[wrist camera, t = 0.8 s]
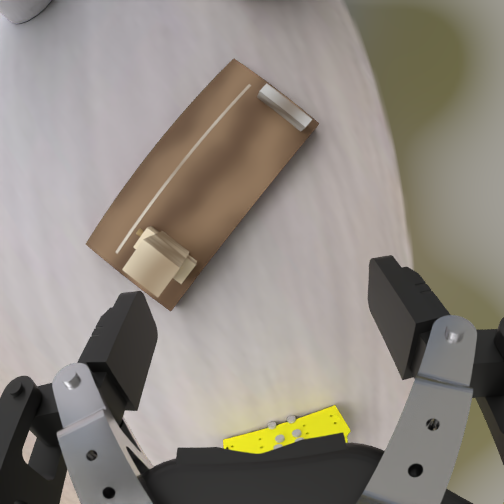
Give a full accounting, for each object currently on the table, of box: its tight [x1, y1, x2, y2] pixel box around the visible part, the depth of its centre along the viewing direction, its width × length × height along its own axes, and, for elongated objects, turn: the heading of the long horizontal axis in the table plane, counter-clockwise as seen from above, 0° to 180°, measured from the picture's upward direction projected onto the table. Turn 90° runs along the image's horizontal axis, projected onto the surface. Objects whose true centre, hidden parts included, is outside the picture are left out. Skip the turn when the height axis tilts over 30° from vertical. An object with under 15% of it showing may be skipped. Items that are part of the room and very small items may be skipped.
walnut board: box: [86, 59, 319, 311], centre depth 32 cm, size 12×26×4 cm, turn 141°
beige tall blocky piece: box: [122, 226, 197, 297], centre depth 28 cm, size 7×3×9 cm, turn 51°
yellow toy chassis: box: [223, 405, 351, 454], centre depth 36 cm, size 16×6×8 cm, turn 106°
